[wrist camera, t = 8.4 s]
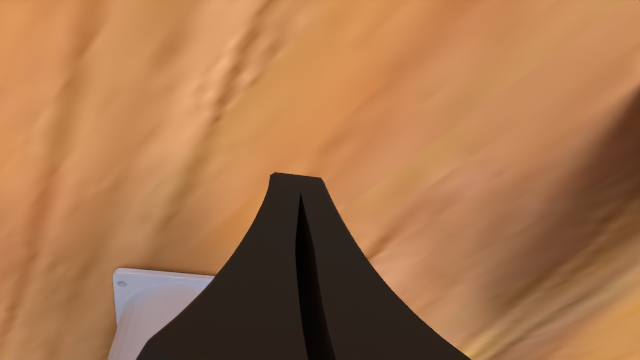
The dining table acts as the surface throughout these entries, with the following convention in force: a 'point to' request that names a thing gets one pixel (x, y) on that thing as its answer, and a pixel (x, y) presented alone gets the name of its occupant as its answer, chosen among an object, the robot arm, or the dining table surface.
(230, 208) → the dining table surface
